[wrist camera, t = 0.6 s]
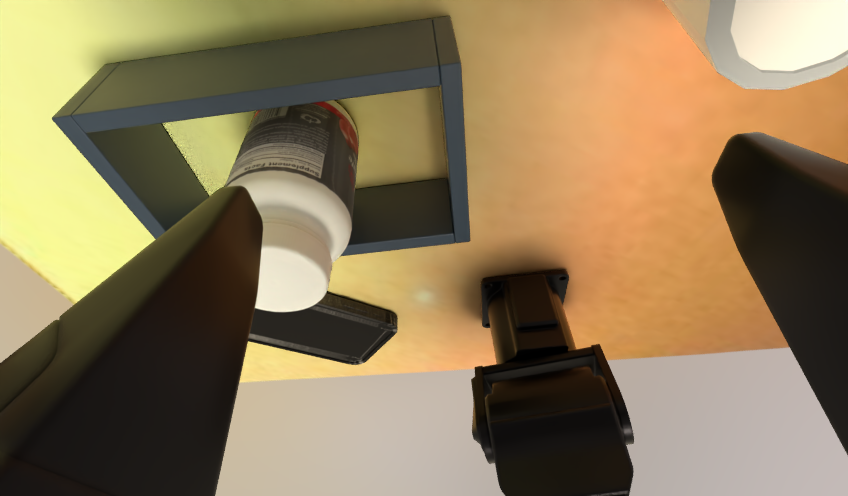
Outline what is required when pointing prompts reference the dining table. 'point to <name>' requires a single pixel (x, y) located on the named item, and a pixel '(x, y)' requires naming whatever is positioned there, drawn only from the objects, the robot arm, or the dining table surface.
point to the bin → (271, 88)
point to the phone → (326, 330)
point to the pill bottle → (299, 197)
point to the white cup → (768, 38)
